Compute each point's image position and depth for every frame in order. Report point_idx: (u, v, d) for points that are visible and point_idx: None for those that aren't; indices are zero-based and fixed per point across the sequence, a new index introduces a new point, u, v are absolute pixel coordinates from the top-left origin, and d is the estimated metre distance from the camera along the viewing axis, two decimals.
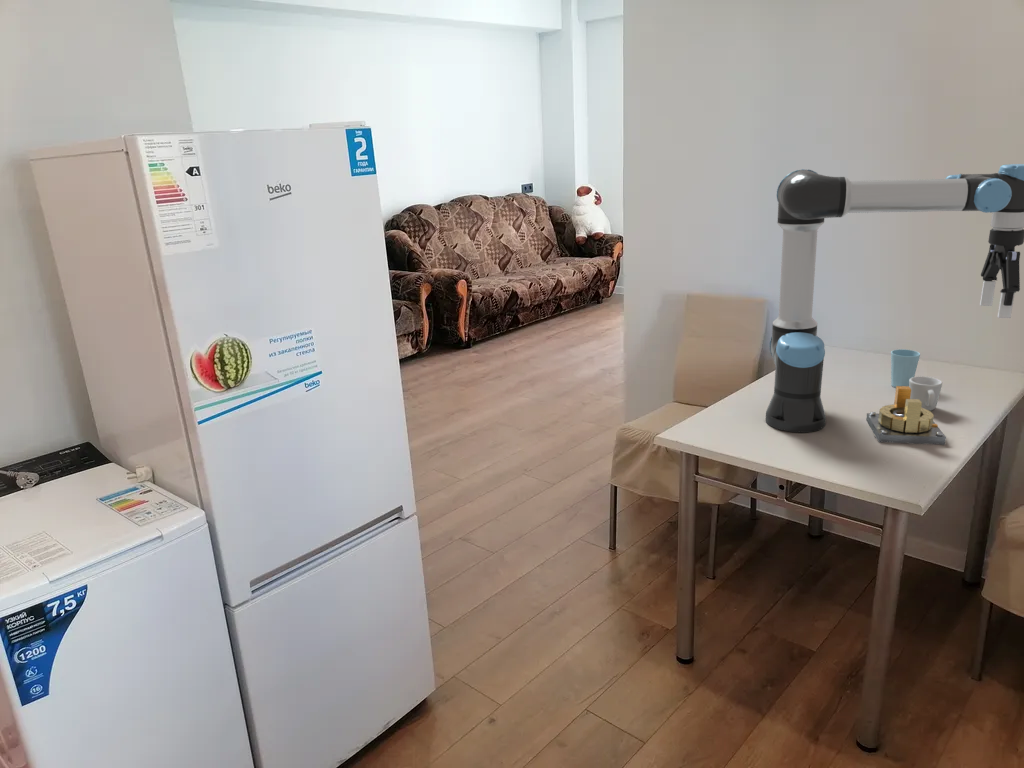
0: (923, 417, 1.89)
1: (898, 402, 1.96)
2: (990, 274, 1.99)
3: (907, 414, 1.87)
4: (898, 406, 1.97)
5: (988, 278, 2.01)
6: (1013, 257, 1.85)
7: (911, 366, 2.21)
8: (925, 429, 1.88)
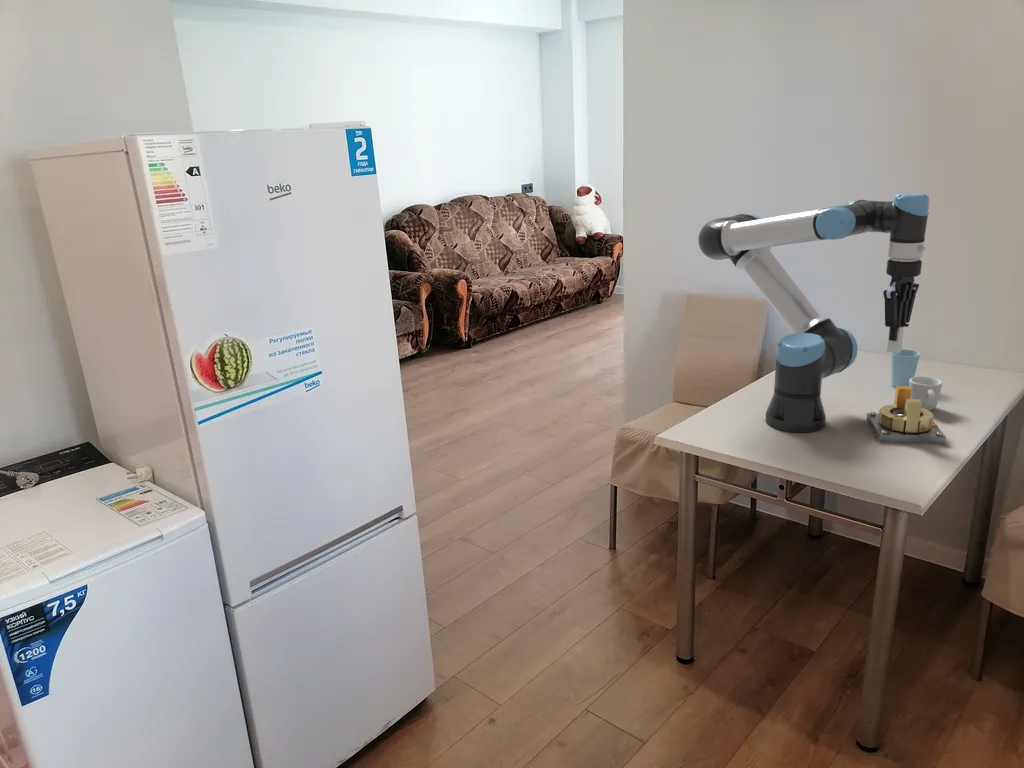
0: (923, 417, 1.89)
1: (898, 402, 1.96)
2: None
3: (907, 414, 1.87)
4: (898, 406, 1.97)
5: None
6: (888, 296, 1.84)
7: (911, 366, 2.21)
8: (925, 429, 1.88)
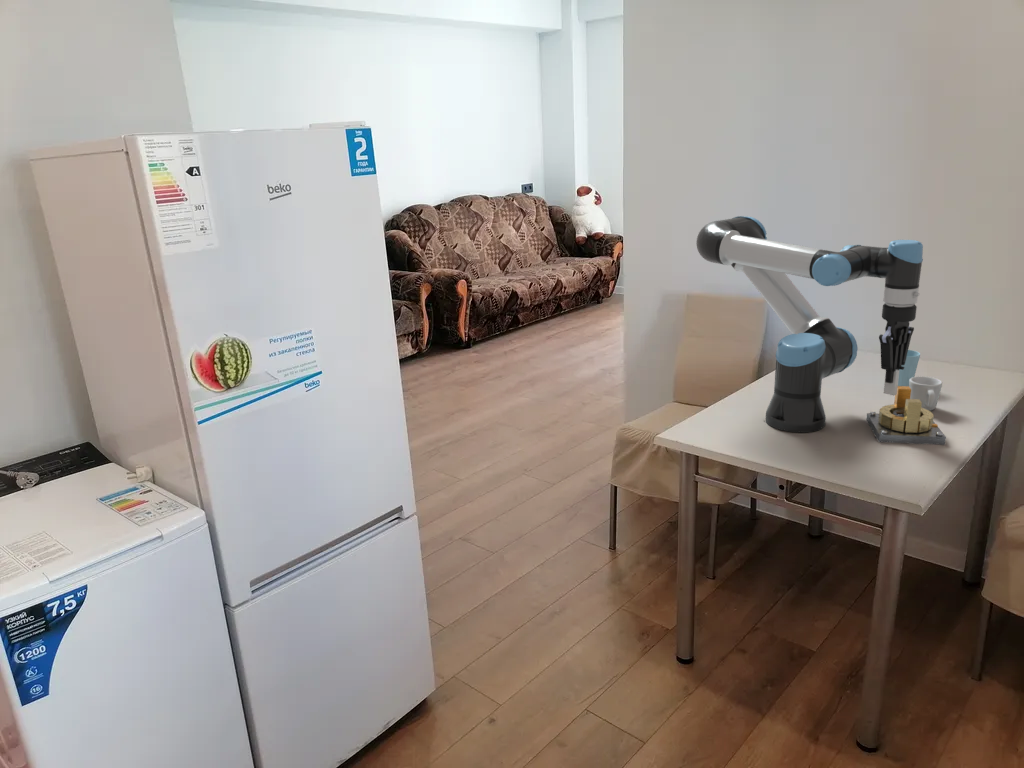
0: (923, 417, 1.89)
1: (898, 402, 1.96)
2: None
3: (907, 414, 1.87)
4: (898, 406, 1.97)
5: None
6: (883, 341, 1.87)
7: (911, 366, 2.21)
8: (925, 429, 1.88)
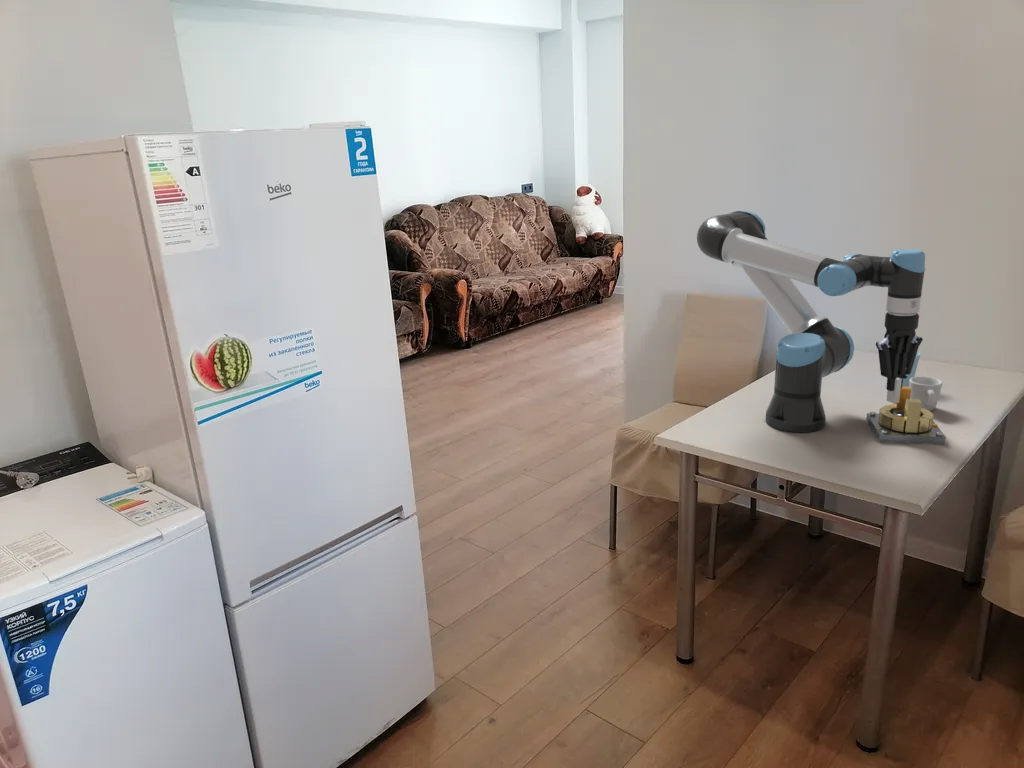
0: (923, 417, 1.89)
1: None
2: (897, 366, 1.94)
3: (907, 414, 1.87)
4: (898, 406, 1.97)
5: (897, 373, 1.94)
6: (880, 348, 1.90)
7: None
8: (925, 429, 1.88)
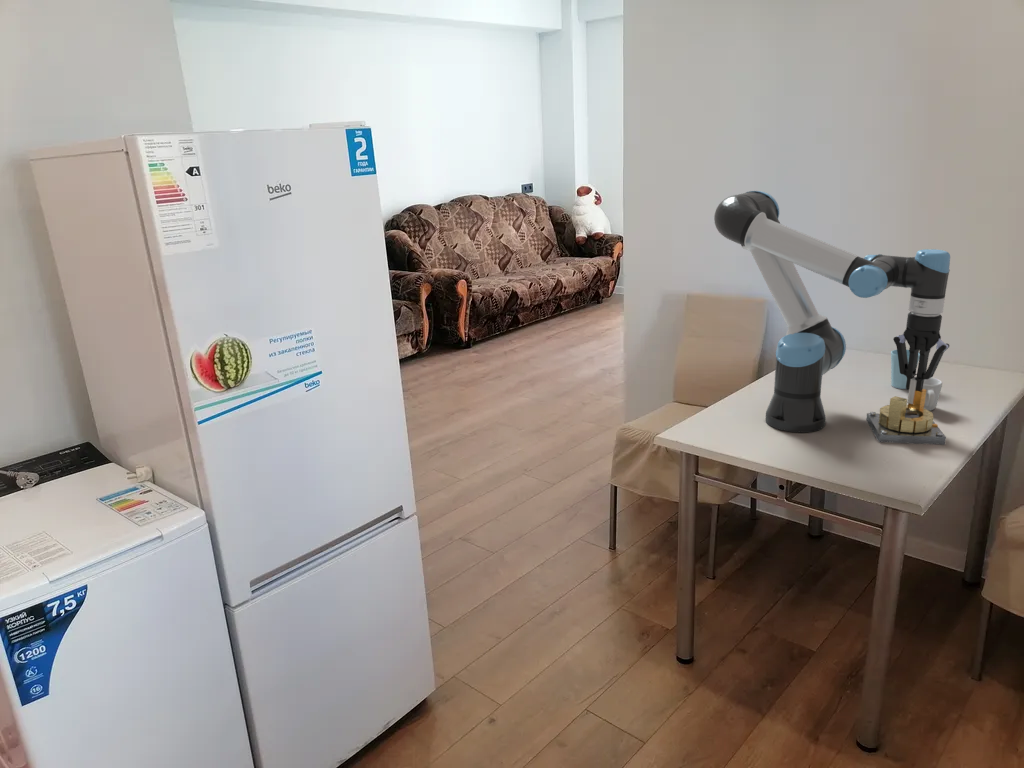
0: (912, 419, 1.89)
1: None
2: None
3: (889, 410, 1.90)
4: (909, 407, 1.96)
5: None
6: None
7: None
8: (909, 430, 1.88)
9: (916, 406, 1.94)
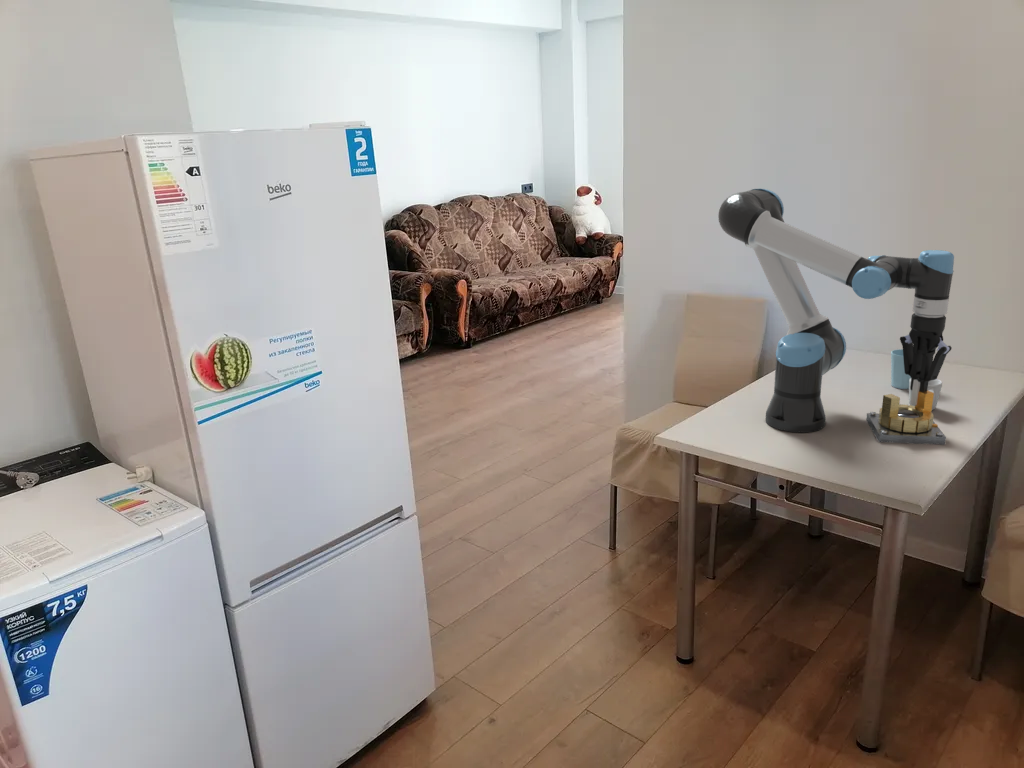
0: (904, 418, 1.89)
1: None
2: None
3: (882, 407, 1.92)
4: (916, 408, 1.95)
5: None
6: None
7: None
8: (897, 429, 1.90)
9: (921, 408, 1.93)
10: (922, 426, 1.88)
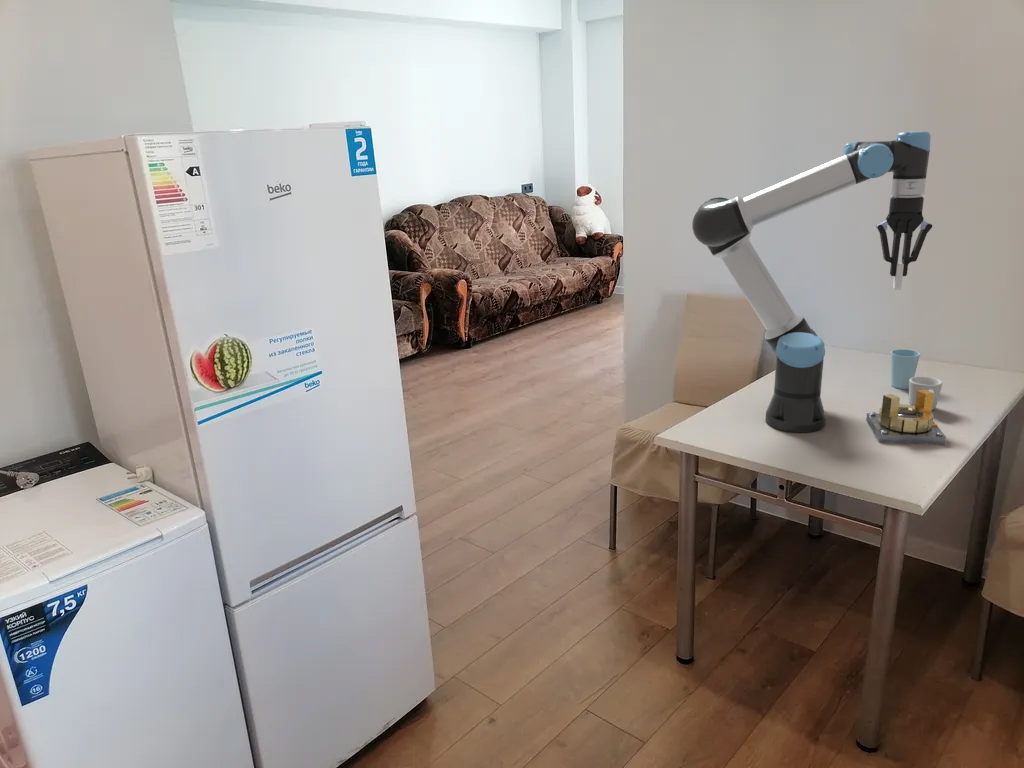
0: (904, 418, 1.89)
1: (916, 404, 1.94)
2: (903, 252, 1.95)
3: (882, 407, 1.92)
4: (916, 408, 1.95)
5: (903, 259, 1.96)
6: (878, 230, 1.95)
7: (911, 366, 2.21)
8: (897, 429, 1.90)
9: (921, 408, 1.93)
10: (922, 426, 1.88)
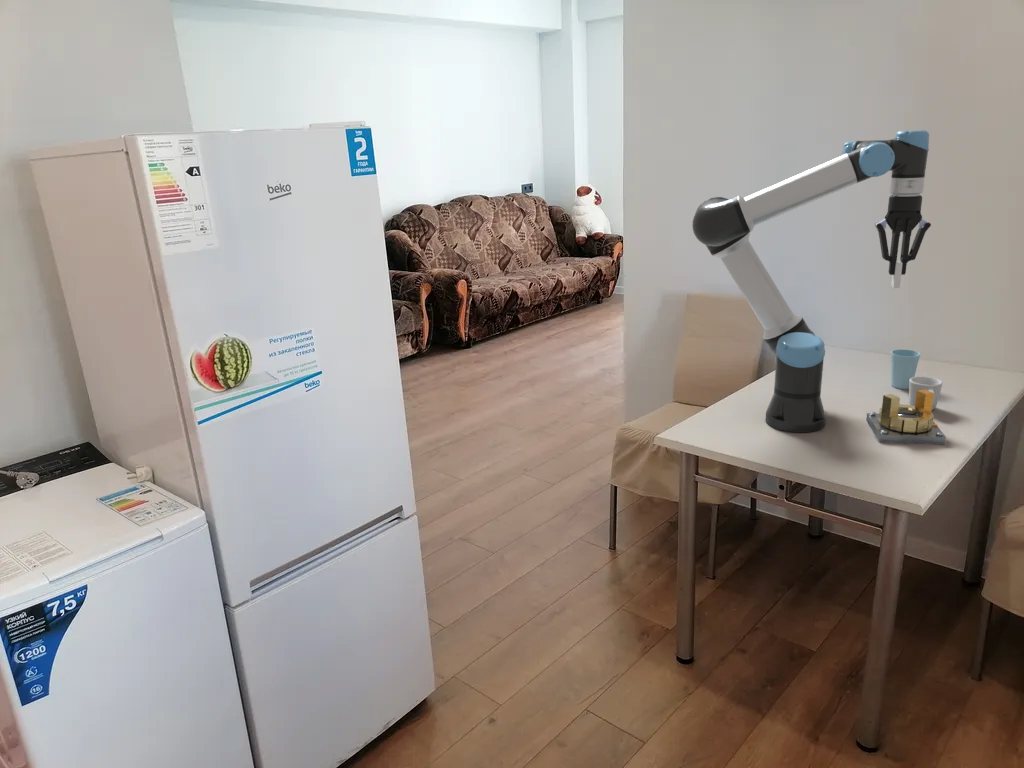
0: (904, 418, 1.89)
1: (916, 404, 1.94)
2: (902, 250, 1.96)
3: (882, 407, 1.92)
4: (916, 408, 1.95)
5: (902, 257, 1.96)
6: (877, 229, 1.95)
7: (911, 366, 2.21)
8: (897, 429, 1.90)
9: (921, 408, 1.93)
10: (922, 426, 1.88)
